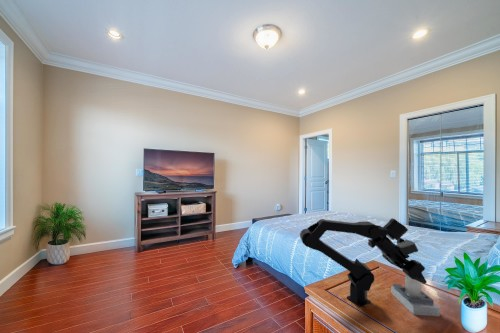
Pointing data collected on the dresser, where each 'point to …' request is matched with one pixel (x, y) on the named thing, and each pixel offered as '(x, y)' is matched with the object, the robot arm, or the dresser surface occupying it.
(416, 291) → the lidded container
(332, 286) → the dresser surface
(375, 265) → the dresser surface
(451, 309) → the dresser surface
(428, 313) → the digital kitchen scale
